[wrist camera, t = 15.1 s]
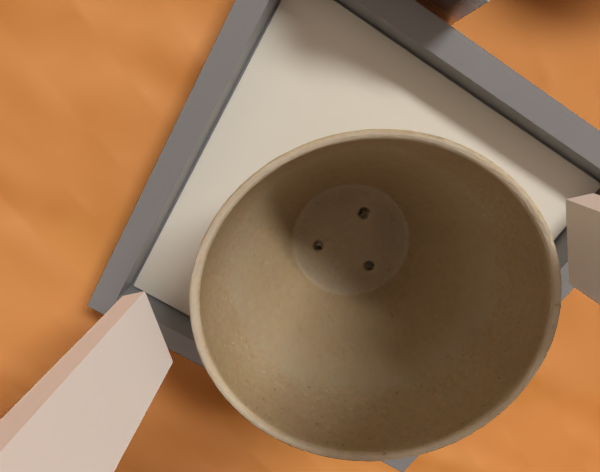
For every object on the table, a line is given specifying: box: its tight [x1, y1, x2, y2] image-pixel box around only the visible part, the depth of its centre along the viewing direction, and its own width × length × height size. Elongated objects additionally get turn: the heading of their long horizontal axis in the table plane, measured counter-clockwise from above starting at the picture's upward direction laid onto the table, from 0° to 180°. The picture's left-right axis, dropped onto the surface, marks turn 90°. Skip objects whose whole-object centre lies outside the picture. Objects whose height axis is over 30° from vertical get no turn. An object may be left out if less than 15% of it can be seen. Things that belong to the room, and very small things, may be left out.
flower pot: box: [189, 129, 562, 461], centre depth 14 cm, size 10×10×7 cm
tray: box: [87, 0, 600, 472], centre depth 17 cm, size 17×17×2 cm
